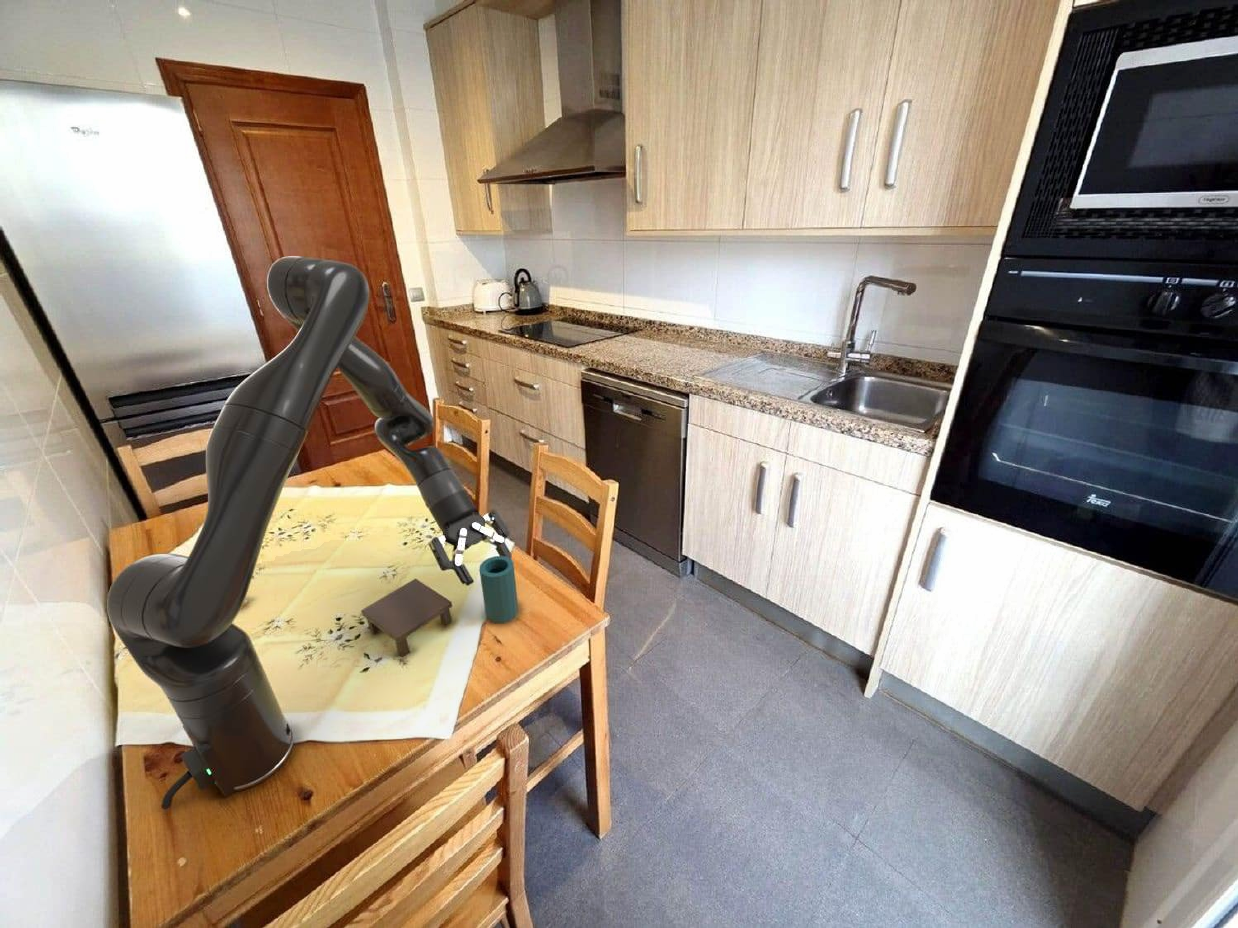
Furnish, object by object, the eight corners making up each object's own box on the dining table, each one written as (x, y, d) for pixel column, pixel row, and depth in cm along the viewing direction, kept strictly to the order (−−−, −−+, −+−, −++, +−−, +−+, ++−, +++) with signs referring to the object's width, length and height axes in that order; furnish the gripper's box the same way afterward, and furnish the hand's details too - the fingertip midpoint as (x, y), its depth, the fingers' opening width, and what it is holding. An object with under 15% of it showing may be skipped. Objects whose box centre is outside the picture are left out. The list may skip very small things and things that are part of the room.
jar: (501, 628, 92) (495, 581, 87) (479, 614, 95) (472, 568, 90) (524, 609, 96) (520, 563, 91) (503, 597, 100) (497, 551, 95)
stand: (402, 660, 85) (396, 638, 83) (366, 631, 91) (360, 610, 89) (455, 622, 93) (451, 601, 91) (419, 598, 99) (415, 578, 97)
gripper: (417, 506, 88) (463, 587, 86) (485, 477, 97) (528, 549, 96) (407, 521, 93) (450, 596, 91) (472, 492, 103) (512, 560, 101)
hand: (490, 572), depth 94 cm, fingers open, 8 cm apart
